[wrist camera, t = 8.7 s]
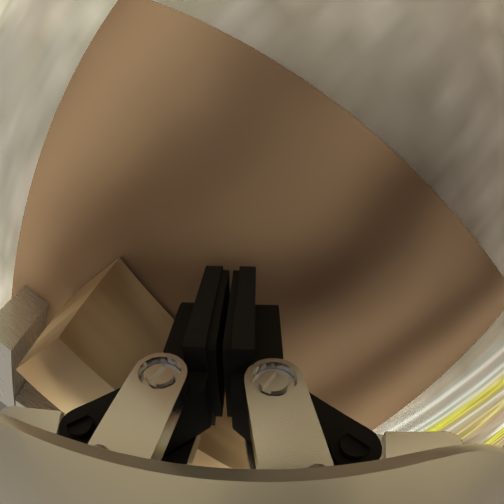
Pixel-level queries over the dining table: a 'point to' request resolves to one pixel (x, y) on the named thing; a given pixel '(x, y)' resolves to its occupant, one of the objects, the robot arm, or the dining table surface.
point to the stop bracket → (21, 348)
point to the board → (253, 209)
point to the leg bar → (113, 354)
